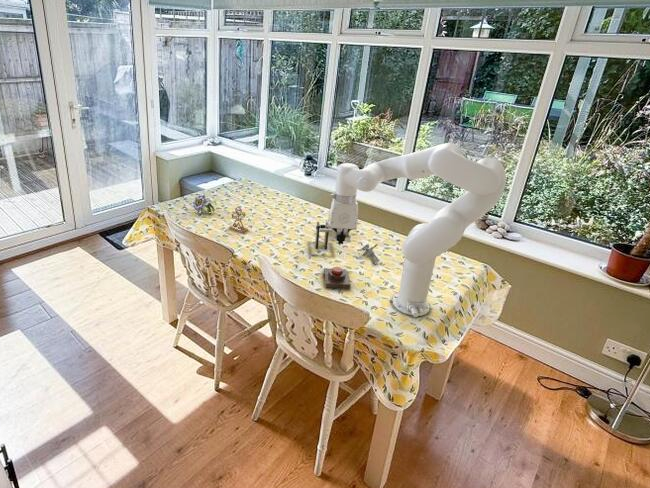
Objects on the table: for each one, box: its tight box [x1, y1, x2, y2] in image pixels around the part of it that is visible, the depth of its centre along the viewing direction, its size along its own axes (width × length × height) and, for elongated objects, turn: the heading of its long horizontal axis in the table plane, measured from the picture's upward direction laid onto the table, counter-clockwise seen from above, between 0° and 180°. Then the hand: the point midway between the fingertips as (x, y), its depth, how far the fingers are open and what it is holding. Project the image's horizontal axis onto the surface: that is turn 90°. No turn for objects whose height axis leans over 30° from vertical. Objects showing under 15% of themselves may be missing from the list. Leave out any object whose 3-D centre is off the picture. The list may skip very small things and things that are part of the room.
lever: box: [319, 224, 332, 233], centre depth 176 cm, size 12×5×2 cm, turn 175°
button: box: [332, 266, 343, 275], centre depth 160 cm, size 4×4×2 cm
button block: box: [323, 267, 351, 290], centre depth 161 cm, size 11×9×4 cm
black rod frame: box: [314, 221, 329, 250], centre depth 183 cm, size 12×10×13 cm
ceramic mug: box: [328, 228, 351, 241], centre depth 194 cm, size 11×8×8 cm
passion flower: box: [190, 193, 218, 215], centre depth 221 cm, size 11×11×12 cm
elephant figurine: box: [360, 243, 381, 265], centre depth 176 cm, size 10×6×9 cm
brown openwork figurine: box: [228, 206, 249, 234], centre depth 200 cm, size 9×4×12 cm, turn 55°
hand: (340, 242), depth 155 cm, fingers closed
